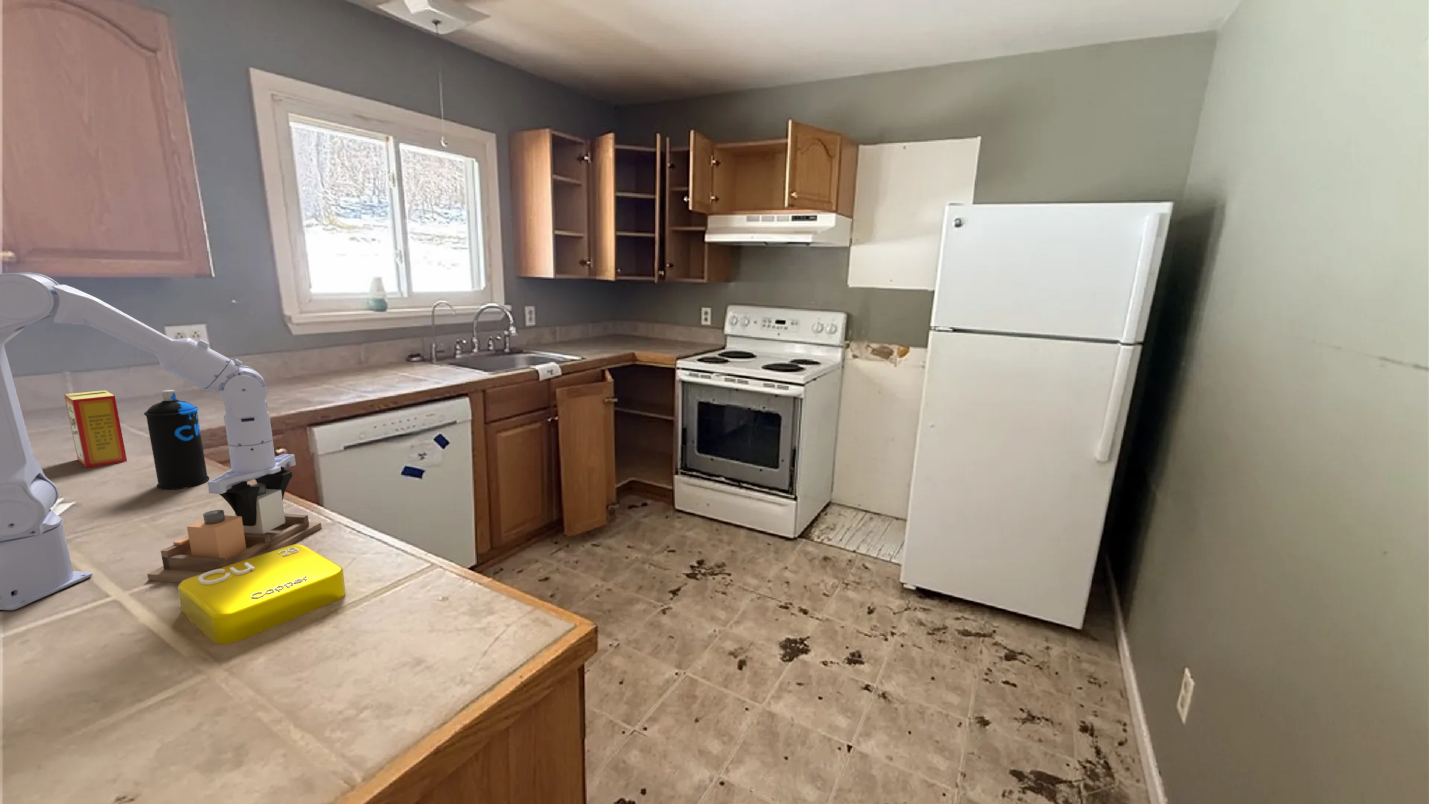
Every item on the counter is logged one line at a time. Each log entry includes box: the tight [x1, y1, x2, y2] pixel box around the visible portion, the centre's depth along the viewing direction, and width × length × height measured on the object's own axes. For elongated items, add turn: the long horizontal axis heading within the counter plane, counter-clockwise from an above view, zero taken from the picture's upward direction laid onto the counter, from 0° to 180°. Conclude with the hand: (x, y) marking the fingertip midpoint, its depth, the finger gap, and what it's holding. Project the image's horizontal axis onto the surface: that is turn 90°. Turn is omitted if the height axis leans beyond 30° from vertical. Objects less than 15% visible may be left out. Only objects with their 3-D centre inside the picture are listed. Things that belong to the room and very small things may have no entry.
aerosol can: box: [143, 389, 210, 491], centre depth 119 cm, size 8×8×20 cm
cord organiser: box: [146, 513, 322, 584], centre depth 93 cm, size 20×11×4 cm, turn 176°
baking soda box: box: [63, 389, 128, 469], centre depth 131 cm, size 10×6×16 cm
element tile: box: [177, 543, 347, 645], centre depth 79 cm, size 15×15×5 cm
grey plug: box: [234, 483, 285, 534], centre depth 96 cm, size 4×4×7 cm
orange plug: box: [186, 509, 246, 561], centre depth 88 cm, size 4×4×7 cm
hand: (261, 519), depth 96 cm, fingers closed on grey plug, 4 cm apart
